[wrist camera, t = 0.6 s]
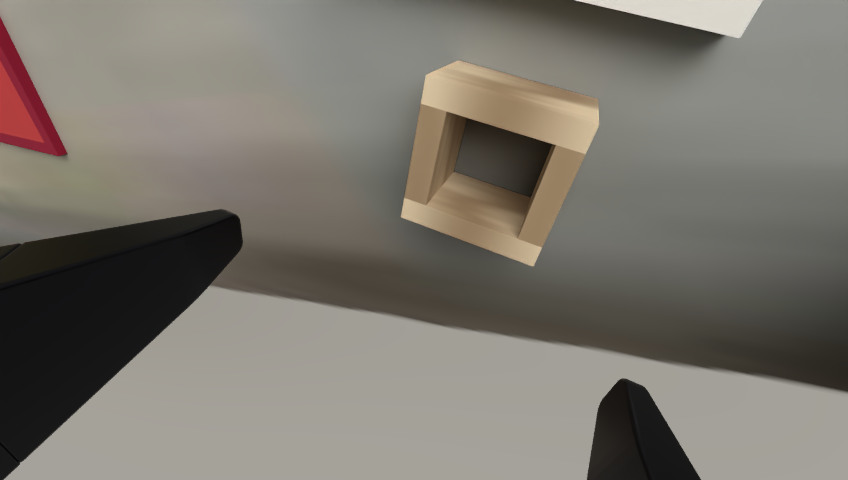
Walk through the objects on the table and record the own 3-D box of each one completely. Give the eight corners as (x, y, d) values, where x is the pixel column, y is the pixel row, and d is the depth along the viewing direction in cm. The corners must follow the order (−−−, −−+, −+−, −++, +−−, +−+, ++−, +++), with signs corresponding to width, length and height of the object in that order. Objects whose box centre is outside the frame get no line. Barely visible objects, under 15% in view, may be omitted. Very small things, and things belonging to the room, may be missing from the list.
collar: (598, 99, 15) (599, 125, 12) (543, 221, 19) (533, 266, 16) (458, 60, 16) (426, 74, 13) (431, 182, 20) (400, 217, 17)
